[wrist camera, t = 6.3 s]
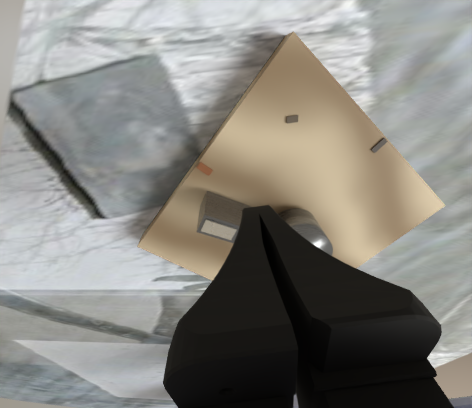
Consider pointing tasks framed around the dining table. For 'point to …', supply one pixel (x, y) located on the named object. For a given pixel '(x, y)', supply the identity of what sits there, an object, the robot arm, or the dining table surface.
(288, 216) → the dial lever
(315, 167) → the board
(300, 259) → the robot arm
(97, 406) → the dining table surface
